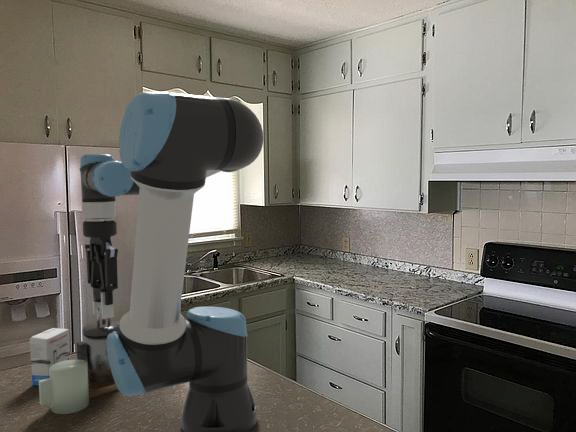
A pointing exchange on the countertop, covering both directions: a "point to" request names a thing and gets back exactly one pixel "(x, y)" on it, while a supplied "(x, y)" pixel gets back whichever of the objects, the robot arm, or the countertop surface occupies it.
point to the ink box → (48, 352)
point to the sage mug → (66, 387)
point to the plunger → (98, 298)
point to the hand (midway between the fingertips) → (103, 315)
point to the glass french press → (97, 356)
